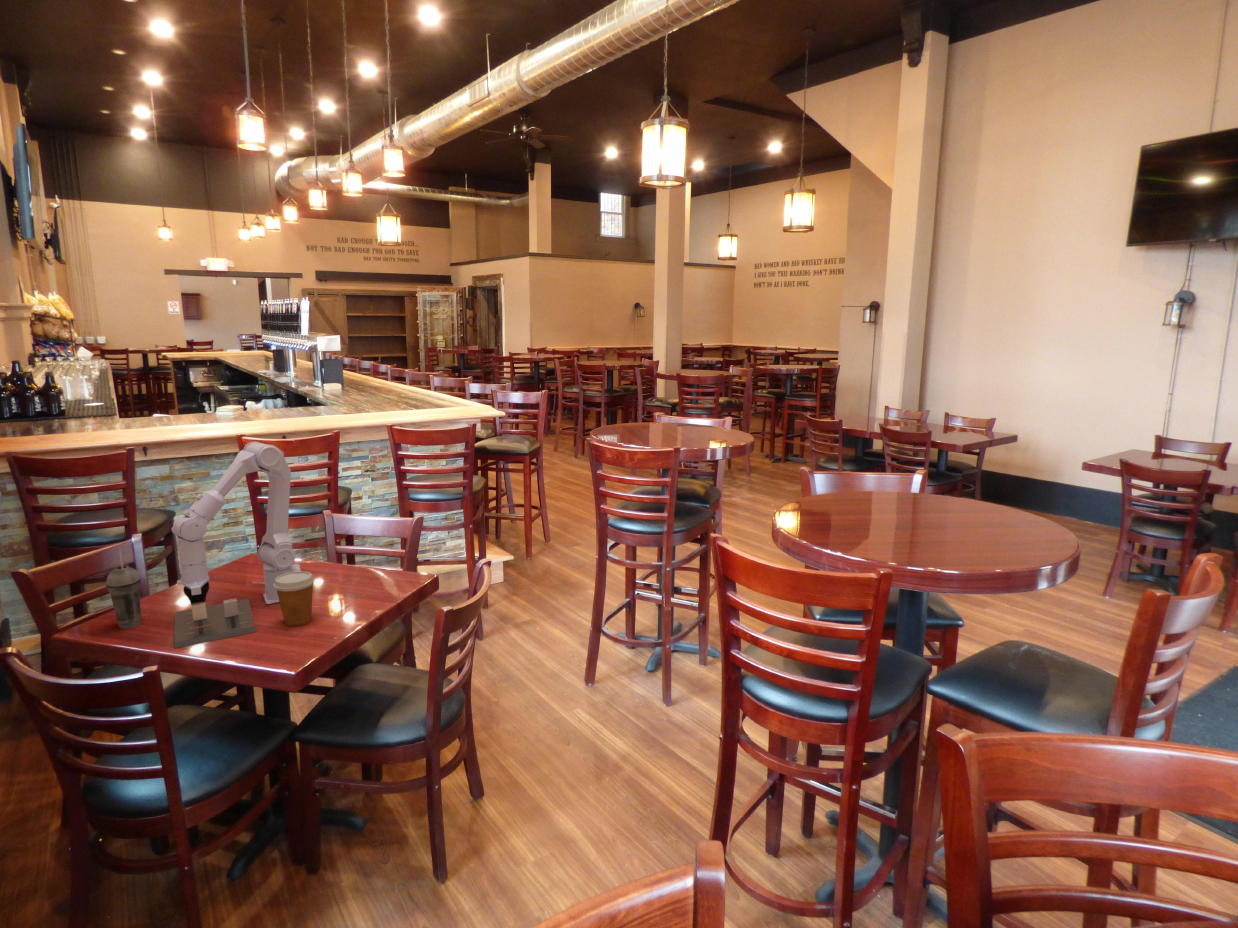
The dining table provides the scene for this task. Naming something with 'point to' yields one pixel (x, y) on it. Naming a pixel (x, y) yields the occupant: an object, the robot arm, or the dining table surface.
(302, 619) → the disposable coffee cup
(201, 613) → the fader cap ivory
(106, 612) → the dining table surface
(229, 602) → the fader cap grey
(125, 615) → the beverage cup
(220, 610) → the mixing console
